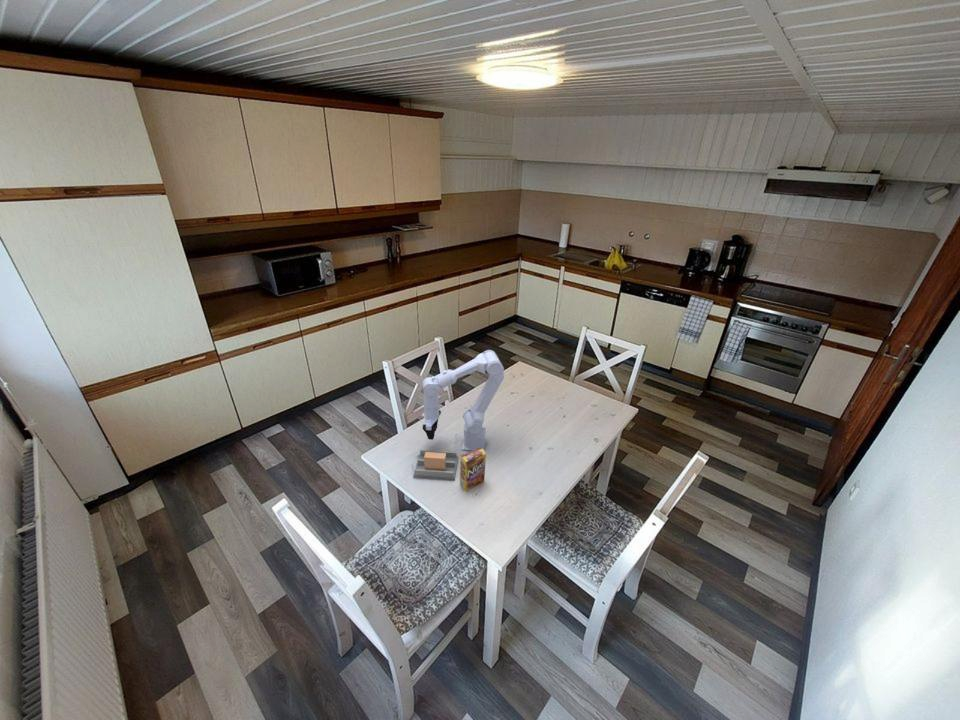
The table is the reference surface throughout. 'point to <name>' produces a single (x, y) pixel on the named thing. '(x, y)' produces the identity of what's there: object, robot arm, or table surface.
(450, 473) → the rack
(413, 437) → the table surface
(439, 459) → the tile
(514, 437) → the table surface
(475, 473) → the candy box
